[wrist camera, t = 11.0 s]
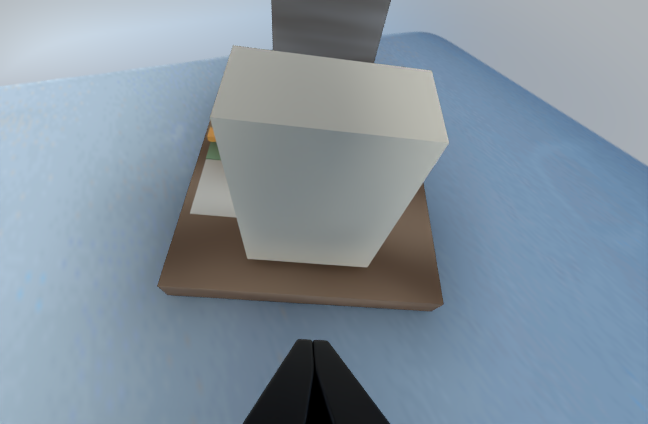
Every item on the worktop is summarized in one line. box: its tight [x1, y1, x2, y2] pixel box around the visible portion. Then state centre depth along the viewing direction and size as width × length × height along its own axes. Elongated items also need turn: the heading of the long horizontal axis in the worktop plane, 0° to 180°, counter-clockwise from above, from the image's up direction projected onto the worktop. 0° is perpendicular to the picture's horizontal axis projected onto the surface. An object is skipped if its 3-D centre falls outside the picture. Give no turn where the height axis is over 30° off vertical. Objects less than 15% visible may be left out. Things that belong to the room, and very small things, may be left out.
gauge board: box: [157, 0, 443, 311], centre depth 16 cm, size 16×14×10 cm
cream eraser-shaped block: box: [210, 46, 449, 267], centre depth 13 cm, size 7×6×9 cm
